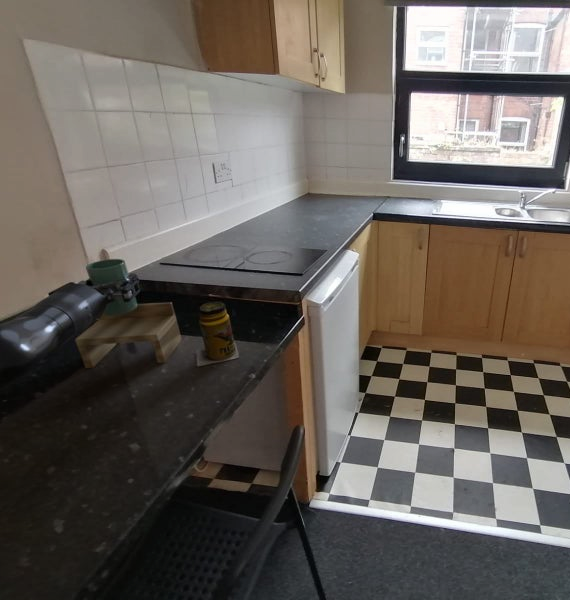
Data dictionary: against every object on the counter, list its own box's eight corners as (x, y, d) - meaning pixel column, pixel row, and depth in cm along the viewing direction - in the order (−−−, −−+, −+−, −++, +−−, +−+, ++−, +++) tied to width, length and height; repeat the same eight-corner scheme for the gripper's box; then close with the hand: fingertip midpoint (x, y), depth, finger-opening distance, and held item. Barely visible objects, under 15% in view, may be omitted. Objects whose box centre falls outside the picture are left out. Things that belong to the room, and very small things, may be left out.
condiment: (239, 358, 89) (229, 309, 84) (197, 367, 86) (184, 317, 81) (235, 343, 95) (226, 296, 90) (196, 351, 92) (184, 303, 87)
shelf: (85, 368, 86) (69, 326, 81) (110, 344, 95) (97, 305, 90) (165, 362, 87) (153, 321, 83) (181, 339, 96) (172, 302, 92)
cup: (94, 313, 83) (78, 267, 79) (122, 301, 88) (108, 257, 84) (117, 317, 81) (102, 270, 77) (144, 304, 86) (131, 260, 82)
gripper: (105, 290, 68) (149, 259, 84) (13, 294, 67) (74, 262, 82) (118, 329, 71) (158, 293, 87) (30, 334, 70) (86, 296, 85)
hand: (117, 278), depth 84 cm, fingers closed on cup, 6 cm apart
